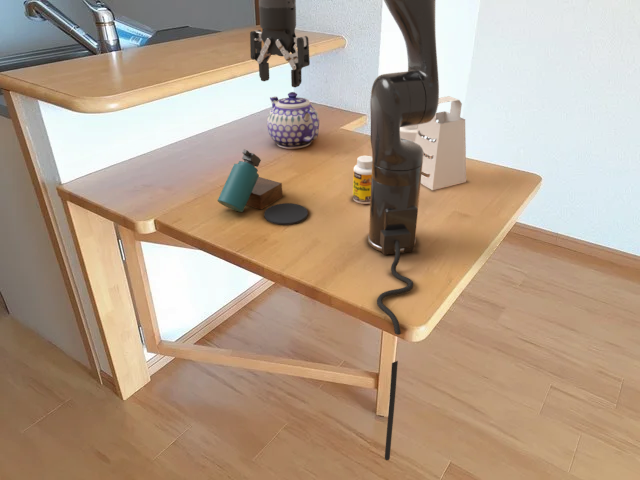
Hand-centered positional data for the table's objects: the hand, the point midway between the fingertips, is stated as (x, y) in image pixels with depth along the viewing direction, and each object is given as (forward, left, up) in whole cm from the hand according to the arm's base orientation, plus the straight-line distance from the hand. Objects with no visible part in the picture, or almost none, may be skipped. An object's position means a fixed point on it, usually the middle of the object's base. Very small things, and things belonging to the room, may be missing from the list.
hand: (280, 83), depth 116 cm
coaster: (-14, +2, -25) cm, 29 cm away
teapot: (+32, -7, -26) cm, 41 cm away
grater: (-2, -38, -26) cm, 46 cm away
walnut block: (-5, +7, -25) cm, 27 cm away
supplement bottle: (-10, -17, -26) cm, 32 cm away
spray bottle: (-9, +11, -25) cm, 29 cm away
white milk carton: (+18, -37, -26) cm, 48 cm away
